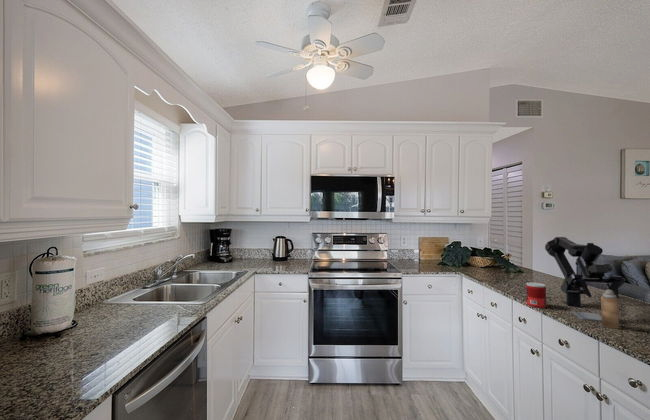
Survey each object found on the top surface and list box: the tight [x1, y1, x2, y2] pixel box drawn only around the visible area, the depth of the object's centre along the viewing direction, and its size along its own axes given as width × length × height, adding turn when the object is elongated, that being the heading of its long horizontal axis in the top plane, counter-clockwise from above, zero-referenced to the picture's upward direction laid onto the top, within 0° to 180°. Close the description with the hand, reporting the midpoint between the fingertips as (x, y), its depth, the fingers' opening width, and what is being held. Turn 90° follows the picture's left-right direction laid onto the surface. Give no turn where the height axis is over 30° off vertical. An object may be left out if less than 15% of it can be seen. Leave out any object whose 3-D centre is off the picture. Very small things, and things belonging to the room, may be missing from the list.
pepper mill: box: [600, 288, 620, 330], centre depth 117 cm, size 5×5×15 cm
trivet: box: [572, 310, 602, 323], centre depth 126 cm, size 9×9×1 cm
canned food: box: [525, 281, 547, 309], centre depth 143 cm, size 8×8×11 cm
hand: (603, 297), depth 120 cm, fingers open, 9 cm apart
